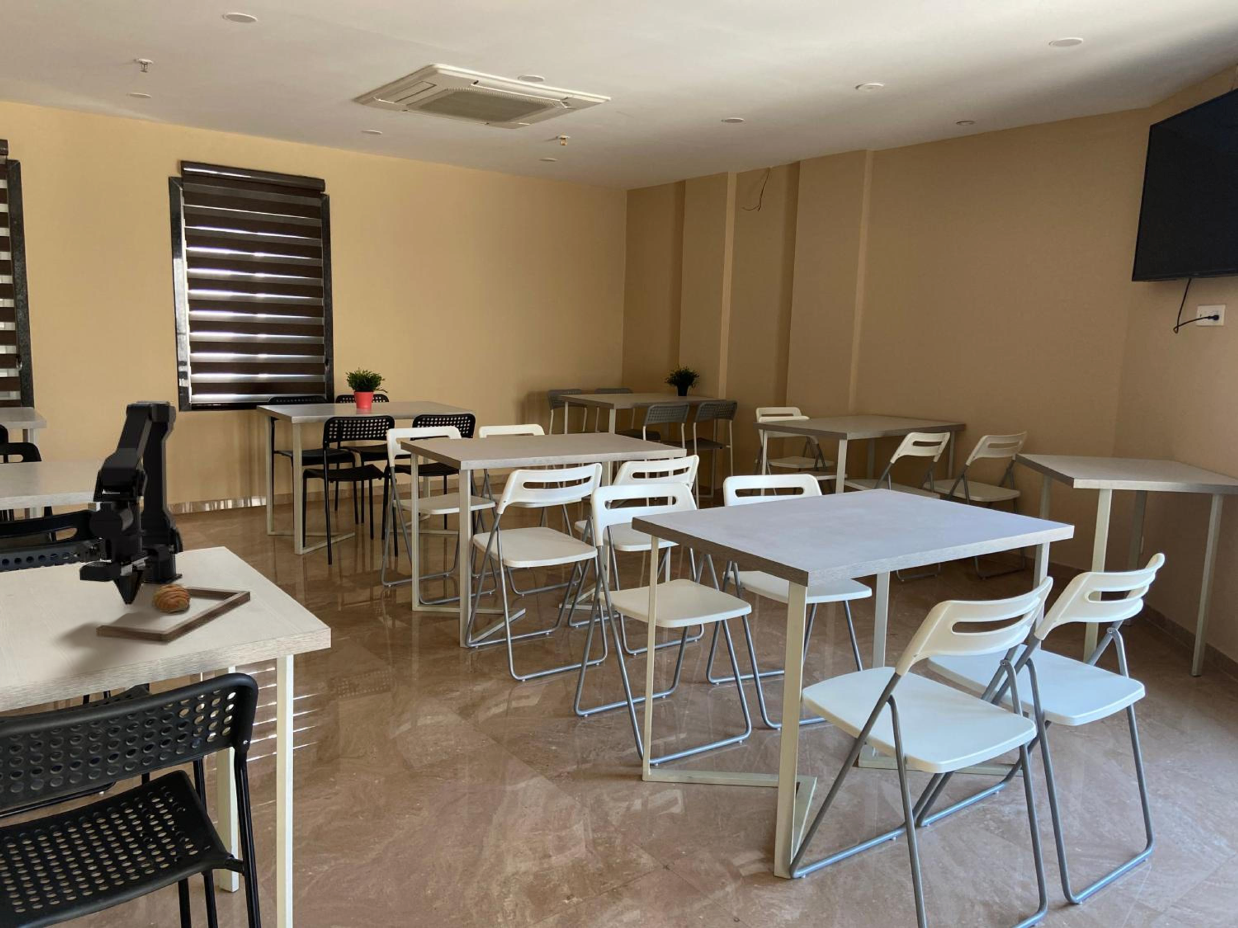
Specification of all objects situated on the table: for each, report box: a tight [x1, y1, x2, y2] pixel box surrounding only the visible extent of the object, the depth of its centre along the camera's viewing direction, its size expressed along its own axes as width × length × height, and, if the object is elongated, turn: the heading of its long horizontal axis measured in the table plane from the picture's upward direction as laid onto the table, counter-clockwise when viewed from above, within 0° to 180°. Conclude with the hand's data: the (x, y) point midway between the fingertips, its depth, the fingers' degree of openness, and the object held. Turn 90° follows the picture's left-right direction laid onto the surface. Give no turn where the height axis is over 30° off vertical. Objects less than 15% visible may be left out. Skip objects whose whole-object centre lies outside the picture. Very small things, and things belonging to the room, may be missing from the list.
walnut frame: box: [96, 585, 251, 643], centre depth 176 cm, size 27×14×2 cm, turn 171°
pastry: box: [151, 584, 192, 614], centre depth 181 cm, size 9×7×4 cm
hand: (128, 604), depth 177 cm, fingers closed
